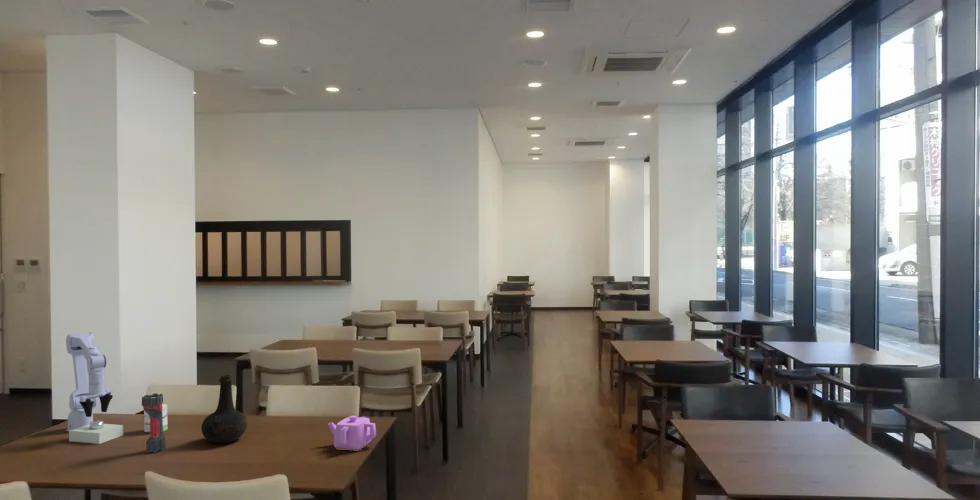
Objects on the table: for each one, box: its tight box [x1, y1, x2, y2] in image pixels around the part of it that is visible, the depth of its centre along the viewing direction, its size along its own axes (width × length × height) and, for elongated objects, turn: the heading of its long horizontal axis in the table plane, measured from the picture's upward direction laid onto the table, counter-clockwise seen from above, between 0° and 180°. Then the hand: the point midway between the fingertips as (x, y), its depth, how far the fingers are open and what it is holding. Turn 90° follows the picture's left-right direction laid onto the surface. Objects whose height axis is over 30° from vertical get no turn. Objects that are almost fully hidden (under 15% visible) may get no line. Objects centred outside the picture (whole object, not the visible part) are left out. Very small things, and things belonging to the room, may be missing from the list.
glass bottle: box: [201, 374, 248, 444], centre depth 257 cm, size 18×18×28 cm
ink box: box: [143, 403, 169, 433], centre depth 271 cm, size 9×5×12 cm, turn 79°
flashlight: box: [141, 393, 166, 454], centre depth 243 cm, size 8×8×23 cm
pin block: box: [68, 423, 124, 445], centre depth 260 cm, size 16×12×4 cm
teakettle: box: [327, 415, 377, 449], centre depth 249 cm, size 17×17×12 cm
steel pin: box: [90, 420, 104, 430], centre depth 260 cm, size 5×5×6 cm
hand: (96, 414), depth 260 cm, fingers open, 7 cm apart
